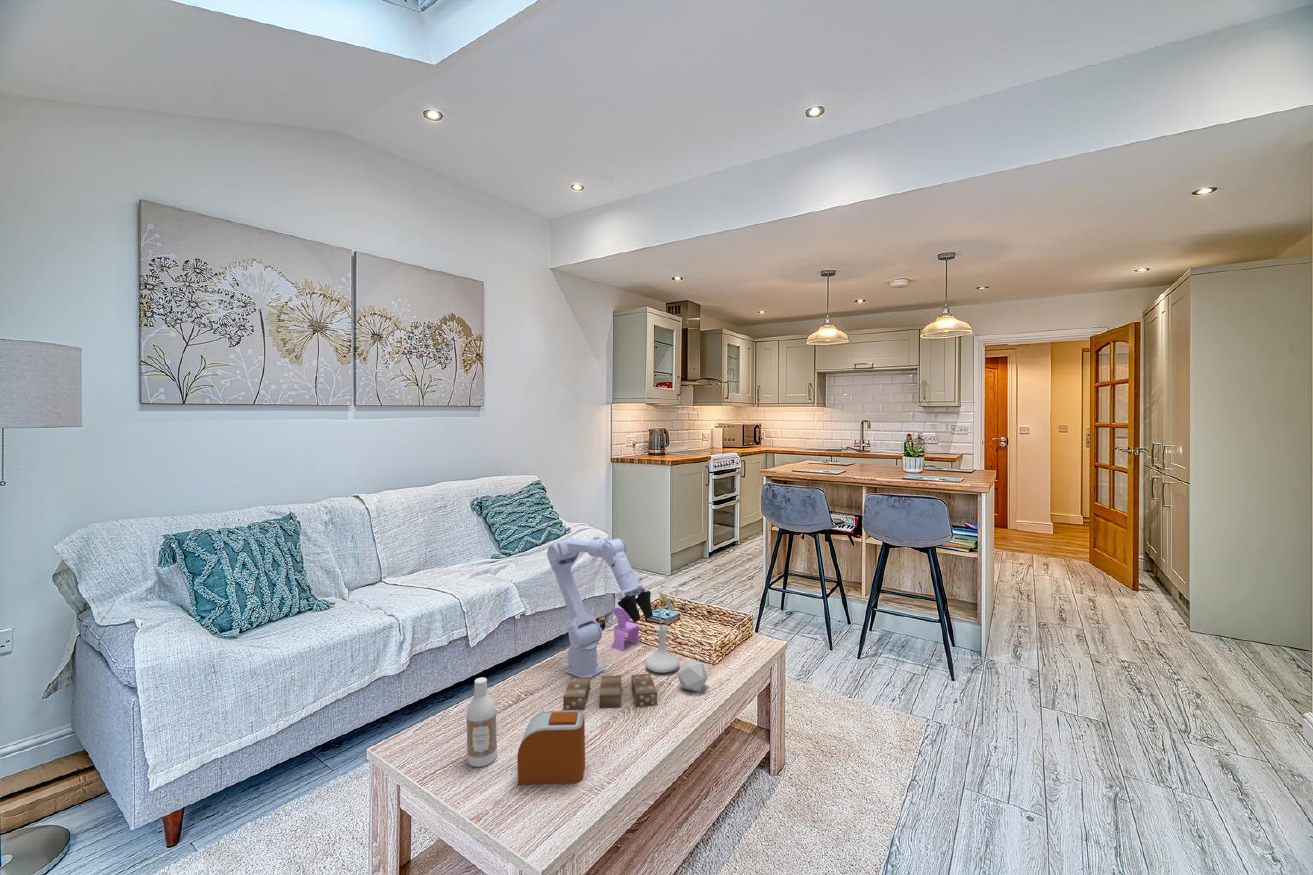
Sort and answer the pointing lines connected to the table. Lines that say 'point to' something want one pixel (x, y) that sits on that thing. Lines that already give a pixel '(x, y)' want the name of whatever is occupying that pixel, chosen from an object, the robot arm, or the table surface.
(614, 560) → the robot arm
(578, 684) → the pip block three
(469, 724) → the bath foam
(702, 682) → the die
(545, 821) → the table surface
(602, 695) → the plain block
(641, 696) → the pip block five
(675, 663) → the flower in vase
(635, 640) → the toy chair
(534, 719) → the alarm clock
